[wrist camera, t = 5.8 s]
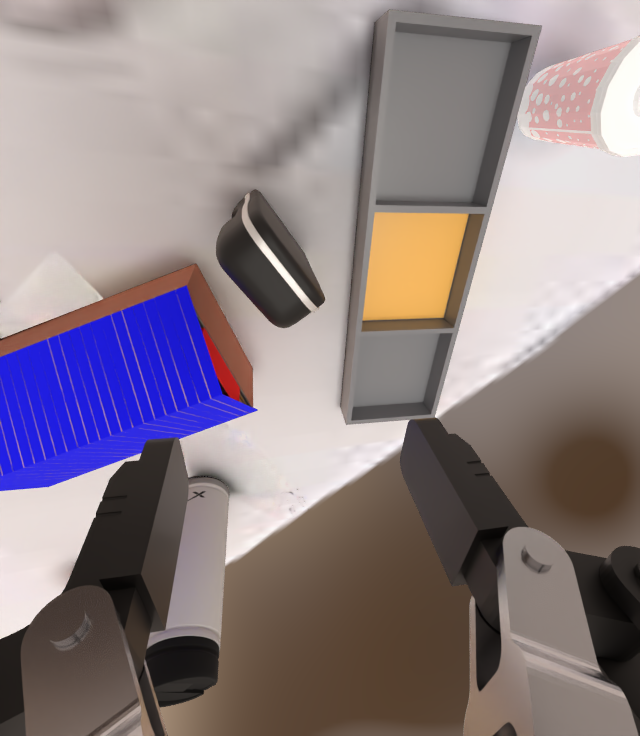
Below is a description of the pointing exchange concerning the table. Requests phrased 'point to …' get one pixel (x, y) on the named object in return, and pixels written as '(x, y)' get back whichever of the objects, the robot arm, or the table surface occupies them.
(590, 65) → the beverage cup
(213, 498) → the travel mug
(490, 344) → the table surface
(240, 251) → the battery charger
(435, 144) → the tray
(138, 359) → the house
